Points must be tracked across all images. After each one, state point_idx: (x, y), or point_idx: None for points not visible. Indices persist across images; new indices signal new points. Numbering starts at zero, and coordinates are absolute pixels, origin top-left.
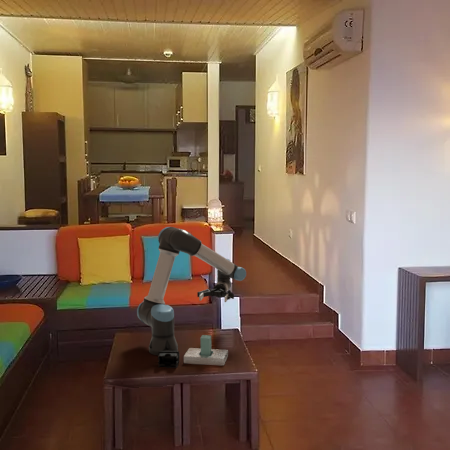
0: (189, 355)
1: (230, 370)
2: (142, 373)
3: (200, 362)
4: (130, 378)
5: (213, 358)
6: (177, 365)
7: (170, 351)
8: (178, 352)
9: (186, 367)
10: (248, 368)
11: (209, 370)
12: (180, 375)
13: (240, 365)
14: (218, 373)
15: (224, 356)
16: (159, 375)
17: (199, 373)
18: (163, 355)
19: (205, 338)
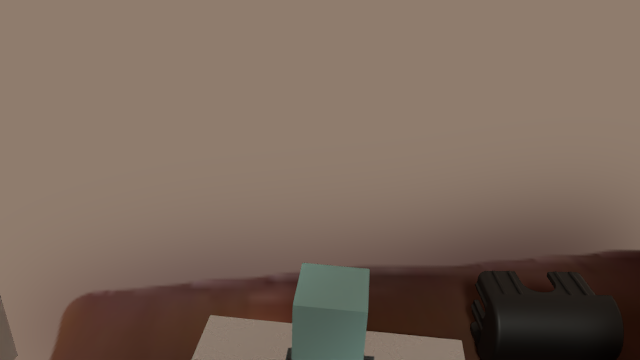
0: (430, 351)
1: (184, 302)
2: (598, 281)
3: None
4: (612, 250)
5: (272, 324)
6: (475, 339)
7: (540, 296)
8: (489, 299)
9: (419, 329)
10: (81, 320)
11: (292, 303)
12: (419, 267)
13: (113, 350)
14: (248, 279)
15: (202, 338)
16: (511, 267)
17: None
18: (554, 273)
19: (331, 267)
